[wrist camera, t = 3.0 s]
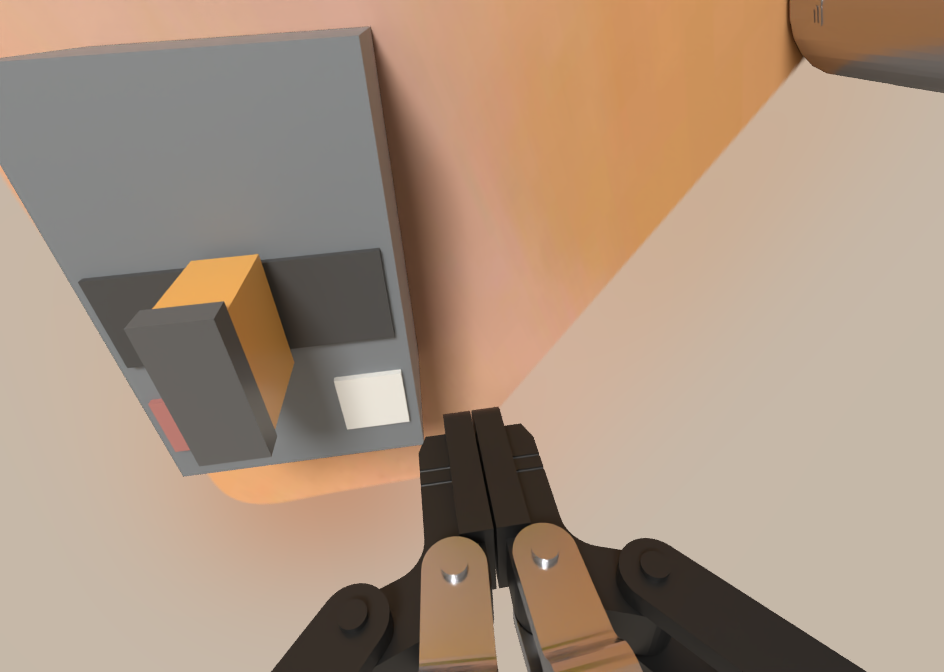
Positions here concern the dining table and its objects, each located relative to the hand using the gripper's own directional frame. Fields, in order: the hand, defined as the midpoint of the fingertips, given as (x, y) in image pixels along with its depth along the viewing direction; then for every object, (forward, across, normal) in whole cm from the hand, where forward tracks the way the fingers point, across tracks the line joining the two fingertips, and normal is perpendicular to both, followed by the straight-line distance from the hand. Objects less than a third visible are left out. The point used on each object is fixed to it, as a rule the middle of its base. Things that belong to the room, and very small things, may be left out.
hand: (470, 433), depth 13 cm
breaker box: (+17, +8, 0) cm, 18 cm away
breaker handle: (+8, +8, 0) cm, 11 cm away
